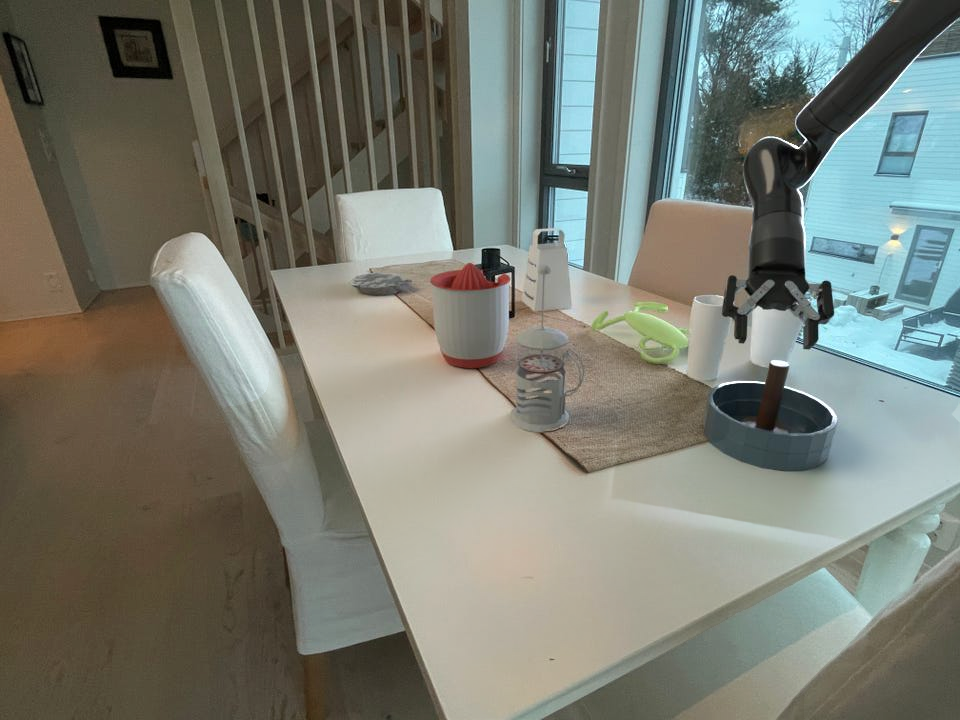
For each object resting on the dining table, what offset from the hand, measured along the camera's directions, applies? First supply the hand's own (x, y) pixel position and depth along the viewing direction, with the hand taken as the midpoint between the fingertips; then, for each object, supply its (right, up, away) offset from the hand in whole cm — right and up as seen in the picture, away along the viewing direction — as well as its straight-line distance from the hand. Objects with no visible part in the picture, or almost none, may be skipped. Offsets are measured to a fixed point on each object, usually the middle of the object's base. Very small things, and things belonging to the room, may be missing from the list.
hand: (775, 344), depth 74 cm
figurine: (-5, +2, +41) cm, 41 cm away
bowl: (-1, -14, +2) cm, 14 cm away
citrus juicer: (-44, -2, +33) cm, 55 cm away
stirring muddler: (-1, -14, +1) cm, 14 cm away
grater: (-25, +13, +66) cm, 71 cm away
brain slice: (-73, +19, +83) cm, 112 cm away
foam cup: (+14, -3, +28) cm, 31 cm away
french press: (-32, -12, +9) cm, 36 cm away
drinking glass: (-1, -6, +22) cm, 23 cm away
